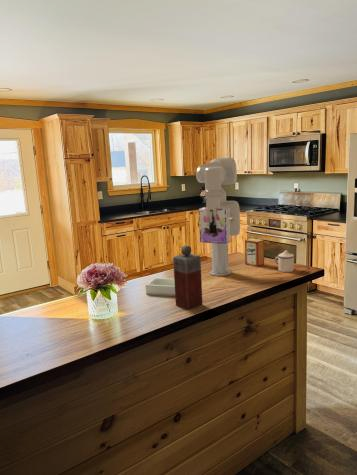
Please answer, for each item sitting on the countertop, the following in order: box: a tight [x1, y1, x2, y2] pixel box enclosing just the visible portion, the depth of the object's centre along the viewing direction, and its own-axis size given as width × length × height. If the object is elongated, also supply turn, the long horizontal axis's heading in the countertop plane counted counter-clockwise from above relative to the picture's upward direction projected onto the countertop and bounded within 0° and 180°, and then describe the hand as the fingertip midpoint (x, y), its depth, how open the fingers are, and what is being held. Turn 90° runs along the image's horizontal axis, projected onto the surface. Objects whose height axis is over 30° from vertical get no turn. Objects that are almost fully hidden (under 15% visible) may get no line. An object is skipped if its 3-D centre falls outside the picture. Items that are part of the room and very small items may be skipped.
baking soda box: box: [244, 237, 265, 268], centre depth 234 cm, size 10×6×16 cm
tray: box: [145, 277, 175, 297], centre depth 194 cm, size 12×20×5 cm, turn 71°
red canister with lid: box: [172, 244, 203, 311], centre depth 172 cm, size 9×11×28 cm
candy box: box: [198, 207, 231, 244], centre depth 180 cm, size 14×6×16 cm, turn 62°
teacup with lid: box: [274, 250, 295, 273], centre depth 220 cm, size 12×9×12 cm
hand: (214, 231), depth 181 cm, fingers closed on candy box, 6 cm apart
